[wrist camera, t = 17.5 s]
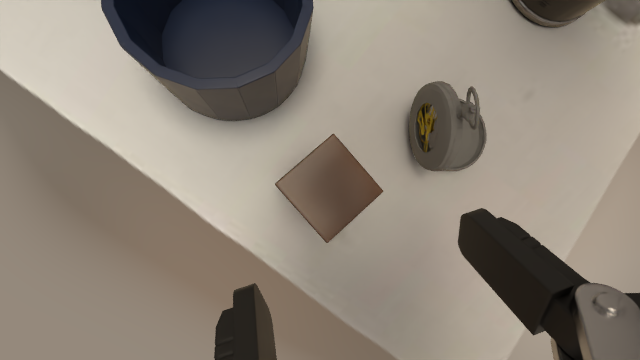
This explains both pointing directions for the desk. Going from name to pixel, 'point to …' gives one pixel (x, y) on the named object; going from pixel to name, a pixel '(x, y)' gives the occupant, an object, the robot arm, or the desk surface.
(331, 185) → the block
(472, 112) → the pocket watch
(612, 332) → the robot arm
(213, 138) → the desk surface
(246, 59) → the tin
